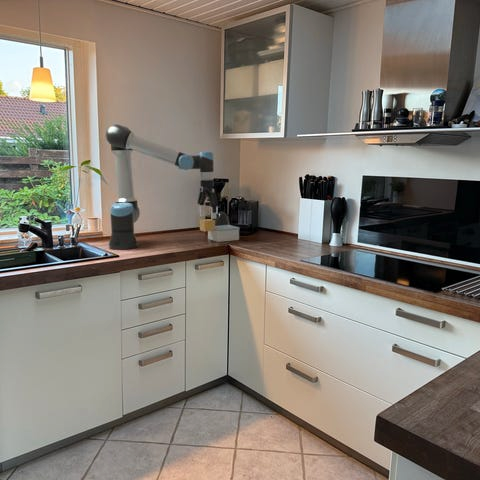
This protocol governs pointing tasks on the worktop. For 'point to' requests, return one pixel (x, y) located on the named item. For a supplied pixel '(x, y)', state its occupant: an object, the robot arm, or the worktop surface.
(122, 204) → the robot arm
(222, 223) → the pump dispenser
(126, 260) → the worktop surface
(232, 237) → the tub
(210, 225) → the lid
